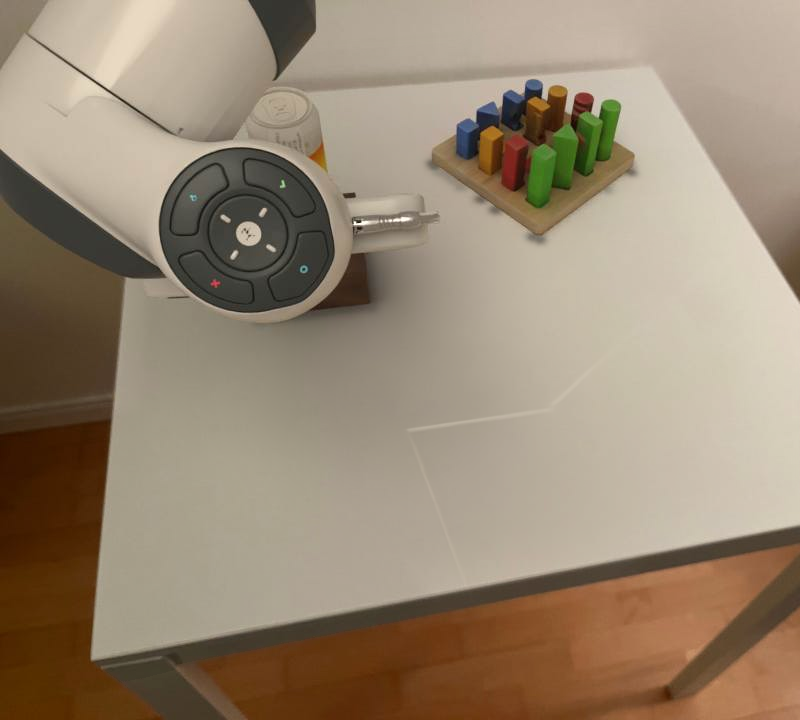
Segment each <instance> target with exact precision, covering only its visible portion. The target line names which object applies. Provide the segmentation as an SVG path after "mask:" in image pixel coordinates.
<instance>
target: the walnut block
mask: <svg viewBox="0 0 800 720" xmlns="http://www.w3.org/2000/svg"><path fill="white" fill-rule="evenodd" d="M342 194H343V196H344V198H345V199H347V198H357V195H356V192H345V193H344V192H343V193H342ZM365 255H366V254H365V253H355V254H351V256H350V259H349V263H348V266H347V268H346V270H345V272H344V274H343V276H342V278H341V280H340V282H339V283H338V285H337V286H336V287H335V288H334V290H333V291H332V292H331V293H330V294H329V295H328V296H327V297H326V298H325V299H324V300H322V301H321V302H320V303H318V304H317V305H316V306H314V307H313V308H311V309H310V310H308V311H307V312H309V311H316V310H326V309H332V308H341V307H349V306H358V305H367V304H371V295H370V286H369V277H368V267H367V262H366V256H365Z"/></svg>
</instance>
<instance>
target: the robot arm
mask: <svg viewBox="0 0 800 720" xmlns="http://www.w3.org/2000/svg"><path fill="white" fill-rule="evenodd" d="M316 3H317V2H316V0H47V2H46V4H45V5H44V6H43V9H42V10H41V11H40V13H39V14H38V16H37V18H35V20H34V22H33V23H32V25H31V26H30V28H29V30H28V31H27V33H26V32H24V33H23V34H22V36H21V37H20V39H19V41H18V42H17V44H16V45H15V47H14V48H13V50H12V51H11V53H10V54H9V55H8V57H7V59H6V61H5V62H4V63H3V65H2V67H1V68H0V197H1V198H2V200H3V201H4V203H6V205H7V206H8V207H9V209H11V210H12V211H13V212H15V214H17V215H18V216H19V217H20V218H22V219H23V220H24V221H25V222H26V223H28V224H29V225H31V226H32V227H33V228H34V229H35V230H37V231H39V233H42V234H43V235H44V236H45V237H47V238H49V239H50V240H52V241H53V242H54V243H56V244H58V245H59V246H61V247H63V248H64V249H66V250H67V251H69V252H71V253H73V254H75V255H77V256H78V257H80V258H82V259H84V260H86V261H87V262H90V263H91V264H94V265H96V266H98V267H100V268H102V269H104V270H106V271H109V272H111V273H114V274H116V275H118V276H121V277H124V278H128V279H133V280H140V281H141V285H142V287H143V291H144V294H145V296H146V297H148V298H151V299H165V298H166V299H168V300H169V299H171V300H172V299H191V300H193V301H194V302H195V303H197V304H199V305H201V306H202V307H204V308H206V309H208V310H210V311H212V312H214V313H216V314H218V315H221V316H224V317H226V318H229V319H233V320H237V321H241V322H245V323H255V324H269V323H271V324H272V323H279V322H284V321H288V320H291V319H294V318H296V317H299V316H301V315H302V314H304V313H306V312H309V311H311V310H310V309H311V308H313V307H314V306H316V305H317V304H318V303H320V302H321V301H322V300H324V299H325V298H326V297H327V296H328V295H329V294H330V293H331V292H332V291H333V290H334V288H335V287H336V286H337V285H338V283H339V282H340V280H341V278H342V276H343V274H344V272H345V270H346V268H347V266H348V263H349V259H350V256H351V254H355V253H364V254H365V253H373V252H381V251H382V252H383V251H392V250H400V249H408V248H414V247H418V246H422V245H426V244H427V243H428V242H429V239H430V238H429V228H428V225H436V224H439V223H440V219H441V215H440V214H439V211H427V209H426V204H425V203H426V202H425V197H424V196H423V195H421V194H420V193H409V192H407V193H406V192H405V193H404V192H403V193H391V194H380V195H378V194H377V195H369V196H356V198H347V199H345V198H344V196H343V193H342V191H341V189H340V187H339V185H338V184H337V183H336V181H335V180H334V179H333V178H332V176H331V175H330V174H329V172H328V171H327V172H328V173H327V172H326V171H325V170H324V169H323V168H322V167H320V166H319V165H318V164H317V163H316V162H314V161H313V160H311V159H310V158H309V157H307V156H305V155H304V154H302V153H300V152H298V151H296V150H294V149H291V148H289V147H286V146H283V145H280V144H277V143H273V142H269V141H264V140H256V139H249V138H235V137H236V136H237V134H238V133H239V131H240V130H241V128H242V127H243V126H244V125H245V121H246V119H247V118H248V116H249V115H250V113H251V112H252V110H253V109H254V107H255V106H256V104H257V103H258V101H259V100H260V98H261V97H262V96H263V94H264V93H265V91H266V90H267V89H268V88H270V85H271V84H272V82H275V81H277V80H278V79H279V77H280V76H281V75H282V74H283V72H285V70H286V69H287V68H288V66H289V65H290V64H291V63H292V61H293V60H294V59H295V58H296V57H297V55H298V54H299V53H300V52H301V51H302V49H304V47H305V46H306V44H307V43H308V42H309V41H310V40H311V39H312V37H313V36H314V35H315V34H316V32H317V5H316ZM308 310H309V311H308Z"/></svg>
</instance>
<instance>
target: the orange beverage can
mask: <svg viewBox="0 0 800 720" xmlns="http://www.w3.org/2000/svg"><path fill="white" fill-rule="evenodd" d="M244 125H245V128H246V132H247V137H248V139H256V140H264V141H269V142H273V143H277V144H280V145H283V146H286V147H289V148H291V149H294V150H296V151H298V152H300V153H302V154H304V155H305V156H307V157H309V158H310V159H311V160H313V161H314V162H316V163H317V164H318V165H319V166H320V167H322V168H323V169H324V170H325V171H326V172H327V173H328V174H329V172H328V166H327V160H326V153H325V152H326V151H325V145H324V139H323V132H322V125H321V118H320V112H319V110H318V108H317V107H316V105H315V104H314V102H313V101H312V98H311V97H310V96H309V94H307V93H306V92H305V91H303V90H301V89H299V88H296V87H292V86H273V87H268V88H267V90H266V91H265V93H264V94H263V96H262V97H261V98H260V100H259V101H258V103H257V104H256V106H255V107H254V109H253V110H252V112H251V113H250V115H249V116H248V118H247V119H246V121H245V122H244Z"/></svg>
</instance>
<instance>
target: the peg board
mask: <svg viewBox="0 0 800 720" xmlns="http://www.w3.org/2000/svg"><path fill="white" fill-rule="evenodd" d="M543 89H544V84H543V82H542V81H541V80H539V79H537V78H530V79H527V80H526V81H525V83H524V91H523V92H522V93H517V92H516V91H514V90H513V89H508V90H507V91H505V92H504V93H503V94H502V103H501V106H499V107H497V104H496V102H495V101H491V102H488V103H486V104H484V105H483V106H481V107H478V108H477V109H476V112H475V113H476V115H475V121H474V120H472V119H471V118H470V117H467V118H465V119H463V120H462V121H460V122H458V123H457V124H456V129H455V131H456V134H454V135H452V136H451V137H449V138H448V139H446V140H444V141H443V142H441V143H439V144H438V145H436V146H435V147H433V148H432V149H431V160H432V162H433V163H434V164H435V165H436V166H438V167H440V168H441V169H443V170H444V171H446V172H447V173H448V174H450V175H452V177H454V178H455V179H457V180H458V181H460V182H461V183H463V184H464V185H465V186H467V187H468V188H469V189H471V190H472V191H474V192H475V193H477V194H478V195H480V196H481V197H483V198H484V199H485V200H487V201H488V202H490V203H491V204H492V205H494V206H495V207H497V208H498V209H499V210H501V211H502V212H503V213H505V214H507V216H510V217H511V218H512V219H514V220H515V221H517V222H518V223H519V224H521V226H524V227H525V228H527V229H528V230H529V231H530V232H532V233H534V234H536V235H538V236H539V235H543V234H545V233H546V232H547V231H549V230H550V229H552V228H553V227H554V226H555V225H557V224H558V223H559V222H561V221H562V220H564V219H565V218H566V217H567V216H569V215H570V214H571V213H573V212H574V211H576V210H577V209H578V208H579V207H581V206H582V205H583V204H585V203H586V202H587V201H589V200H591V198H593V197H594V196H595V195H597V194H598V193H600V191H602V190H603V189H605V188H606V187H607V186H609V185H611V183H612V182H614V181H615V180H617V179H618V178H620V177H621V176H622V175H623V174H624V173H626V172H627V171H628V170H630V169H631V168H632V167H633V165H634V161H635V158H636V155H635V153H634V152H633V151H631V150H630V149H628V148H627V147H625V146H623V145H622V144H621V143H618V142H617V141H615V135H616V131H617V128H618V127H617V126H618V123H619V119H620V115H621V112H622V111H621V110H622V104H621V103H620V102H619V100H616V99H611V98H610V99H605V100H603V101H602V103H601V105H600V110H599V115H598V116H597V115H594V114H593V113H592V111H593V107H594V102H595V98H594V96H593V94H591V93H589V92H584V91H583V92H578V93H576V94H575V95H574V98H573V105H572V109H571V114H570V113H569V112H567V111H566V106H567V99H568V89H567V87H565V86H563V85H559V84H555V85H551V86H549V88H548V92H547V99H545V98H543V91H544V90H543Z"/></svg>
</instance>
